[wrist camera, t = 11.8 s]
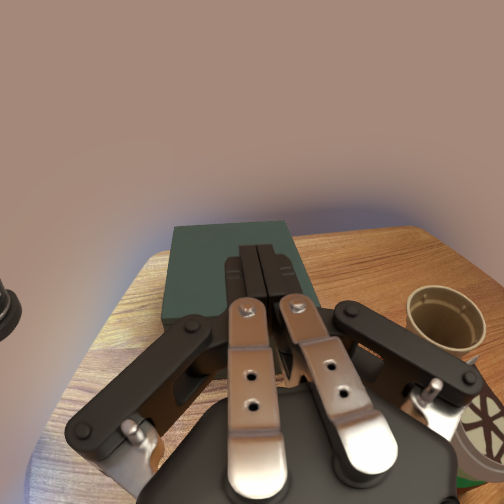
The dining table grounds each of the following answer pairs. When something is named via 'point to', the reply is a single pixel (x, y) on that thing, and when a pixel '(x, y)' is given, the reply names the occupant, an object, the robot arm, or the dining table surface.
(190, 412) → the dining table surface
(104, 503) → the dining table surface
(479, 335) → the flower pot
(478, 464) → the food container
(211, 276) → the lid
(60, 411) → the dining table surface
